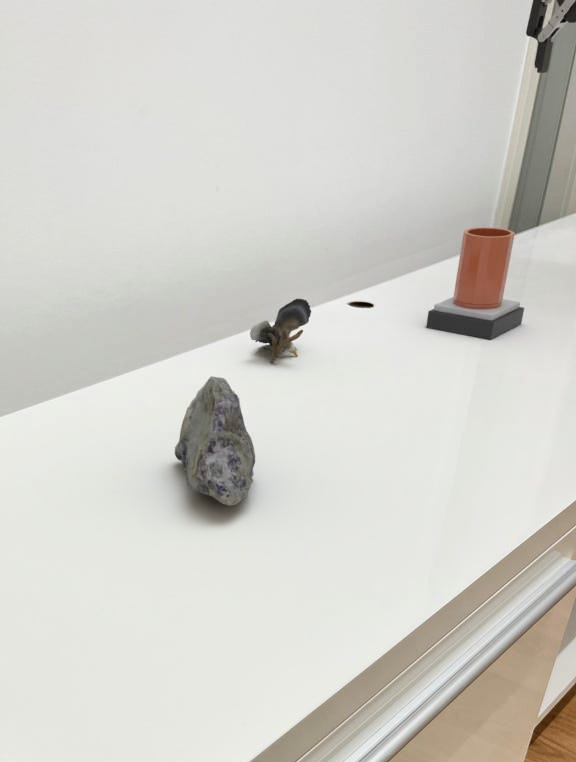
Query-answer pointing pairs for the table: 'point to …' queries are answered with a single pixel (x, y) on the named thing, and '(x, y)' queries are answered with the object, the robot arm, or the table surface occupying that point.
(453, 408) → the table surface
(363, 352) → the table surface
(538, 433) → the table surface
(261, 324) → the grey-brown irregular figure
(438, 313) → the scale
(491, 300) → the cup
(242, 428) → the mineral rock
